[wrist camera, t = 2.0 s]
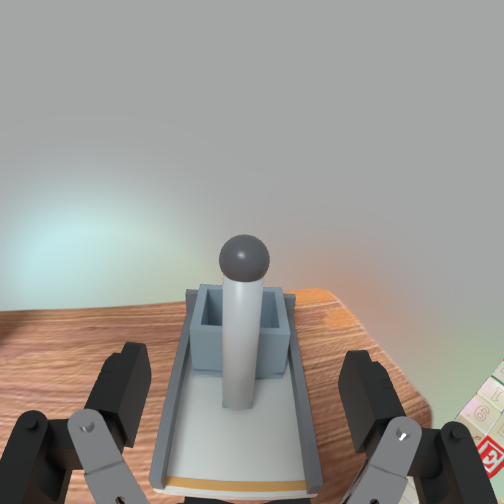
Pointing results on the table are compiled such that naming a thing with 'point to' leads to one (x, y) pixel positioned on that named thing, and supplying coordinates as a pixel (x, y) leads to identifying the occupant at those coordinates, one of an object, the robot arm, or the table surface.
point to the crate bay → (236, 432)
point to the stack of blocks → (480, 428)
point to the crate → (240, 324)
